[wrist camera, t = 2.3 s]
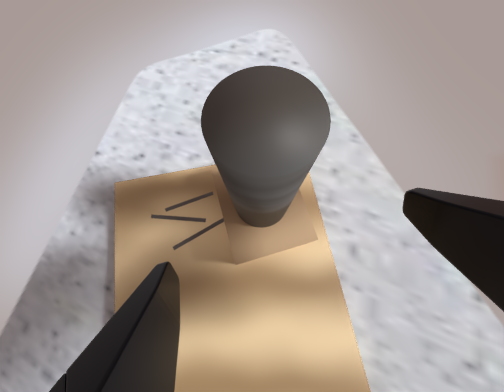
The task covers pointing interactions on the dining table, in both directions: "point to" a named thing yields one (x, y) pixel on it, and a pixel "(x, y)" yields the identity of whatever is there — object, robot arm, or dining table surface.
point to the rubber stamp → (264, 156)
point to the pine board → (237, 293)
